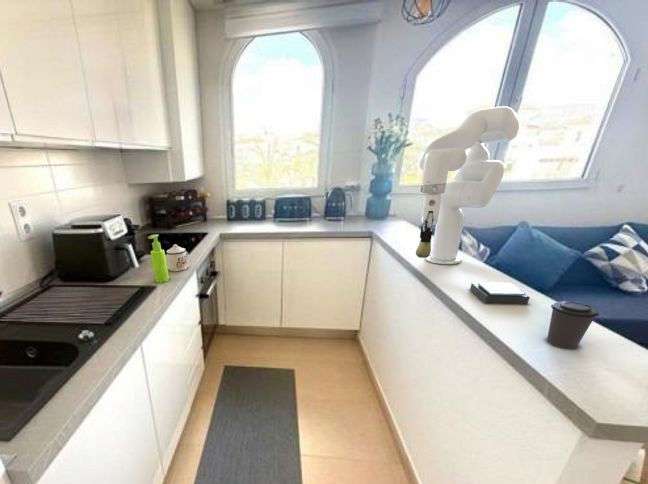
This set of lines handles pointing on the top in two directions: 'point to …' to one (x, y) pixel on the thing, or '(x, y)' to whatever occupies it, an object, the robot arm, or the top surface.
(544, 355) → the top surface
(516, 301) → the scale
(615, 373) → the top surface
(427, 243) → the fennel bulb
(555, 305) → the coffee cup
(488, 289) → the scale pan
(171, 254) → the teacup with lid
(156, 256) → the soap dispenser
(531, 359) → the top surface
